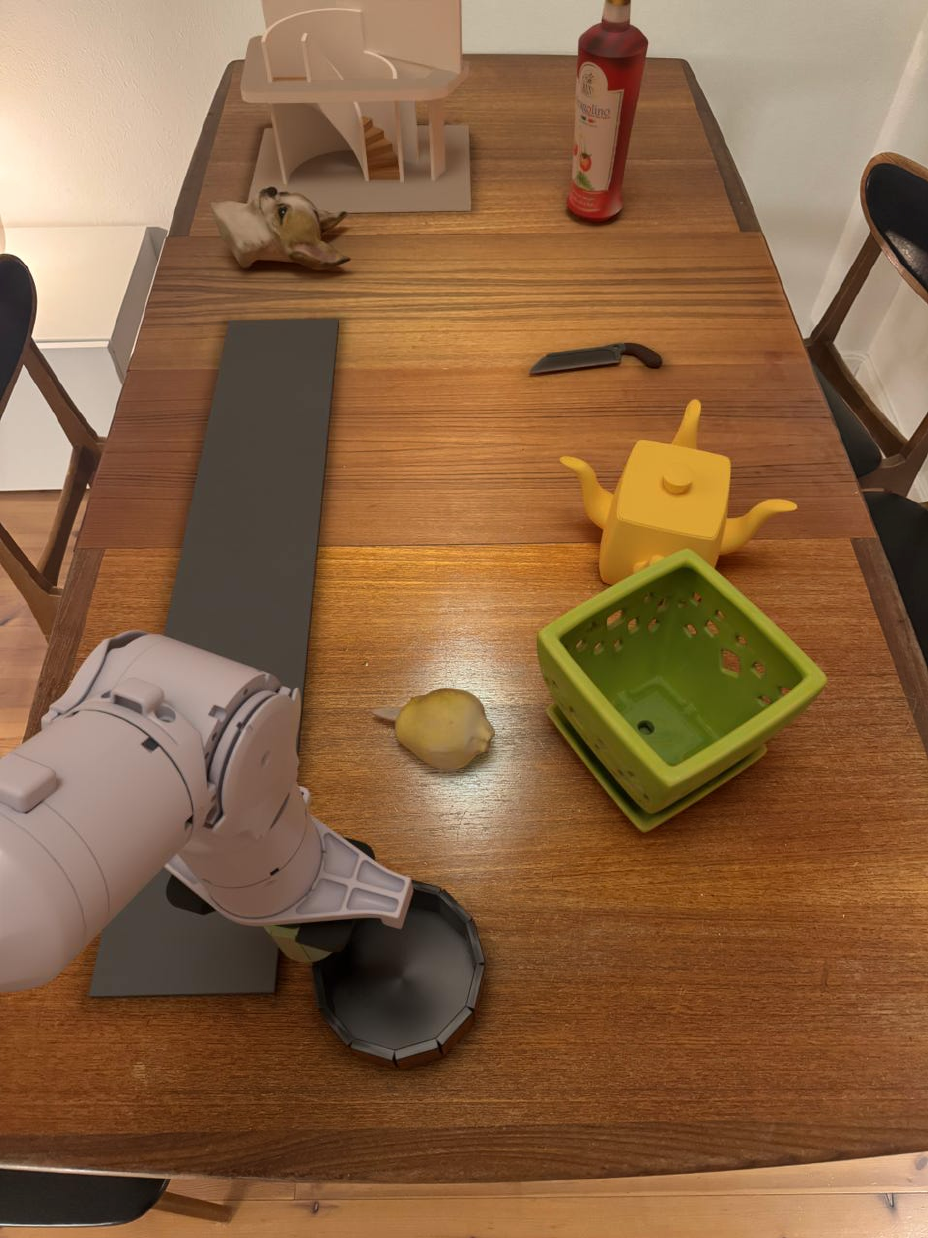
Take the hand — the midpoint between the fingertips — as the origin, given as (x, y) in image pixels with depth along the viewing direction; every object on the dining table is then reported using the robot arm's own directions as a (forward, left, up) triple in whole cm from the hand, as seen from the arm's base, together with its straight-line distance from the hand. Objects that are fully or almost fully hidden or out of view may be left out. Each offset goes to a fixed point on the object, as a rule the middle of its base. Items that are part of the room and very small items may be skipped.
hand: (295, 913), depth 50 cm
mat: (+28, +17, -10) cm, 35 cm away
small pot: (+1, 0, -4) cm, 5 cm away
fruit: (+17, -3, -10) cm, 20 cm away
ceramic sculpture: (+73, +31, -10) cm, 80 cm away
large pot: (0, -6, -10) cm, 11 cm away
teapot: (+40, -17, -10) cm, 45 cm away
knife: (+63, -7, -10) cm, 64 cm away
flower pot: (+21, -19, -10) cm, 30 cm away
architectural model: (+94, +29, -10) cm, 99 cm away
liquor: (+91, -2, -10) cm, 92 cm away
